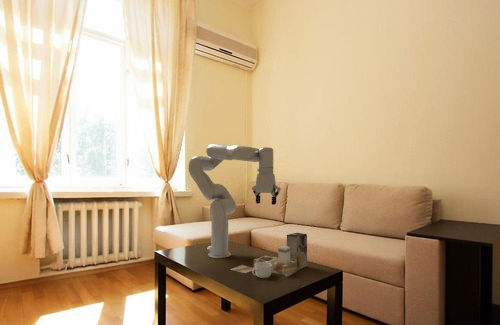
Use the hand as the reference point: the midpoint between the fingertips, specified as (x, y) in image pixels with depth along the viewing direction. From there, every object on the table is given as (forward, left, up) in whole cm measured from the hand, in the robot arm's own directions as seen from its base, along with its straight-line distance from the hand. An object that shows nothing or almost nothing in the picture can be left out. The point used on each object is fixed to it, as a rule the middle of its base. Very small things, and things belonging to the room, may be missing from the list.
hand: (265, 203), depth 151 cm
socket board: (+10, -7, -30) cm, 33 cm away
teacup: (+10, -19, -31) cm, 38 cm away
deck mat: (-2, -16, -30) cm, 34 cm away
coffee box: (+16, +4, -31) cm, 35 cm away
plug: (+15, -7, -29) cm, 33 cm away
